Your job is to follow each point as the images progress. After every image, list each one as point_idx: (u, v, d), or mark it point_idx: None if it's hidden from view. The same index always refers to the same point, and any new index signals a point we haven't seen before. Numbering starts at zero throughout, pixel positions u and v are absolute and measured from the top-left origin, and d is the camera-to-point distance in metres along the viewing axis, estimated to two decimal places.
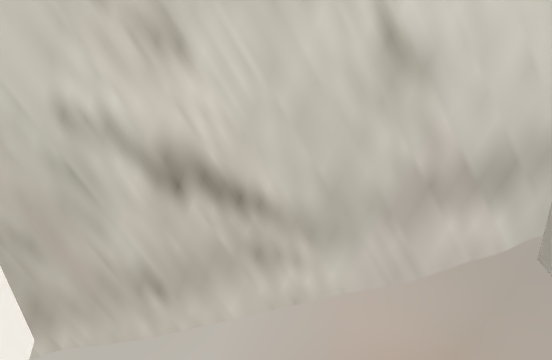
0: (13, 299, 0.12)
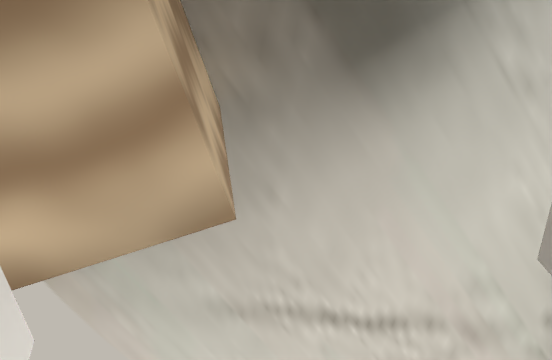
0: (13, 299, 0.12)
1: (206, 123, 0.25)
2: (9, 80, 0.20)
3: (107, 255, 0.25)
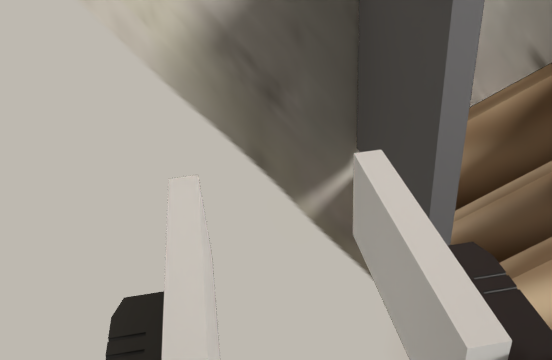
0: None
1: None
2: None
3: None
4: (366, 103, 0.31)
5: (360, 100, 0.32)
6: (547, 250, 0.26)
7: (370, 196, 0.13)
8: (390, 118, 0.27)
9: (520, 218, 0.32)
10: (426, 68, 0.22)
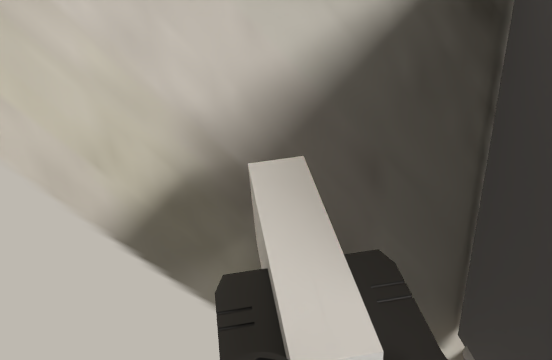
0: None
1: None
2: None
3: None
4: (495, 295, 0.18)
5: (477, 277, 0.19)
6: None
7: None
8: None
9: None
10: None
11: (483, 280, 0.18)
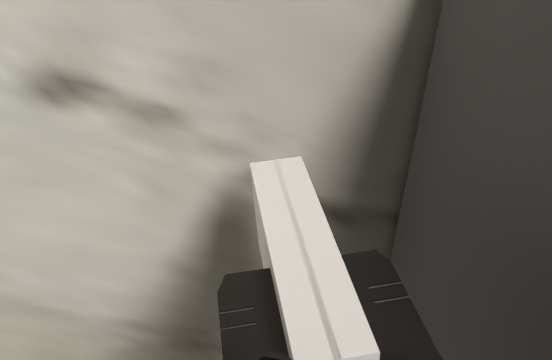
0: None
1: None
2: None
3: None
4: None
5: None
6: None
7: None
8: None
9: None
10: None
11: None
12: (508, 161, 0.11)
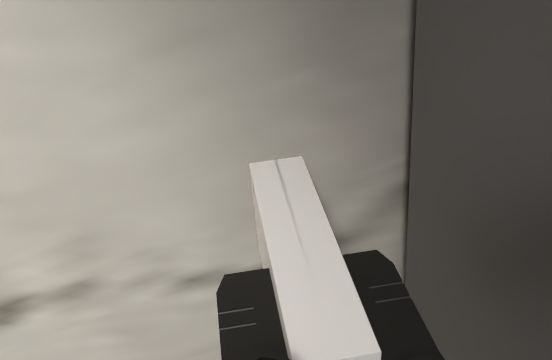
0: None
1: None
2: None
3: None
4: (425, 300, 0.17)
5: (411, 282, 0.18)
6: None
7: None
8: None
9: None
10: None
11: (416, 285, 0.18)
12: (495, 154, 0.11)
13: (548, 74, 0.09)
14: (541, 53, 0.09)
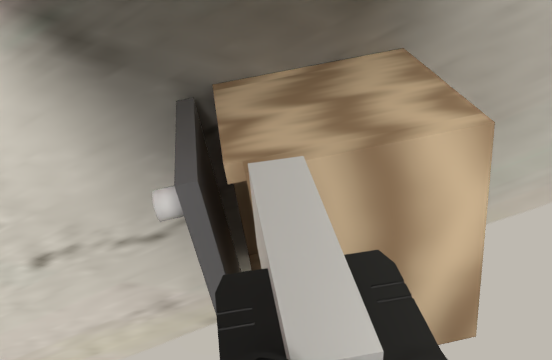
0: None
1: (402, 113, 0.29)
2: None
3: (482, 221, 0.30)
4: None
5: None
6: None
7: None
8: None
9: None
10: None
11: None
12: None
13: None
14: None
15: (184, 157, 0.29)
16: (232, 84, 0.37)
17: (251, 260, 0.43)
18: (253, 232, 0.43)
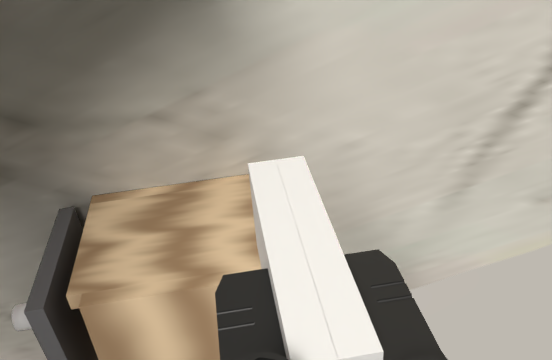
0: None
1: (222, 254, 0.36)
2: None
3: None
4: None
5: None
6: None
7: None
8: None
9: None
10: None
11: None
12: None
13: None
14: None
15: (42, 279, 0.36)
16: (108, 197, 0.43)
17: None
18: None
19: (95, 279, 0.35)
